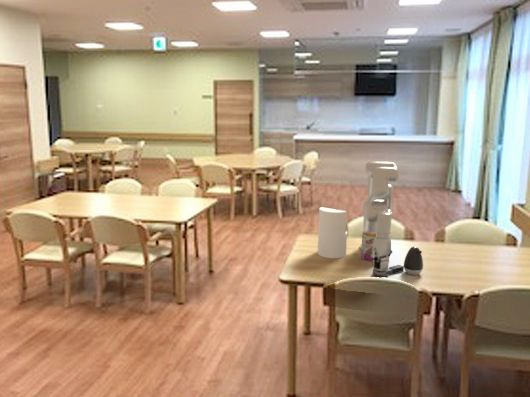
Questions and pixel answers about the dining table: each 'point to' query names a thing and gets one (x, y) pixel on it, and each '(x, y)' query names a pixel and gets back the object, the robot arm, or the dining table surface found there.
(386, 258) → the cardboard mailer box
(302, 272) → the dining table surface
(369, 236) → the candy bar box
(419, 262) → the dark brown rounded piece
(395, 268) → the small saucepan
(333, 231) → the cylinder
